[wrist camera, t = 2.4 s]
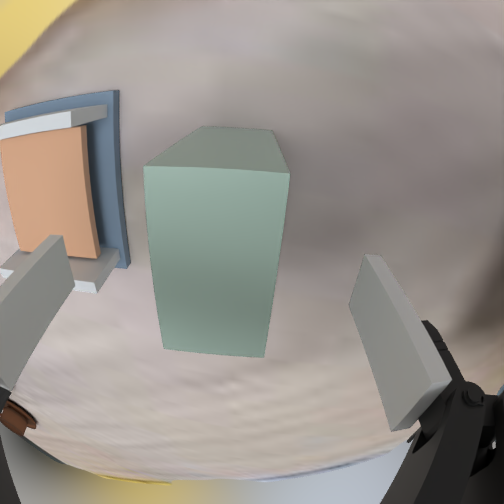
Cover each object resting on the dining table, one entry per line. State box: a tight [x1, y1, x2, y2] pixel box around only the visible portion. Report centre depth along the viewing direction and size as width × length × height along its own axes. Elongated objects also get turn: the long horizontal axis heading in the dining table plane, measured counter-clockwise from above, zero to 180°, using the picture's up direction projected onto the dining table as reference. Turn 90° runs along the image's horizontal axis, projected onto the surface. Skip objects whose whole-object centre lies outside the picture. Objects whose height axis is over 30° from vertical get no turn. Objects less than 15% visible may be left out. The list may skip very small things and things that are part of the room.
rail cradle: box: [0, 90, 131, 294], centre depth 19 cm, size 12×15×6 cm
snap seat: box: [0, 125, 101, 259], centre depth 19 cm, size 9×10×1 cm
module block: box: [143, 126, 290, 358], centre depth 17 cm, size 5×9×12 cm, turn 176°
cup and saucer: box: [0, 400, 36, 436], centre depth 46 cm, size 12×12×6 cm
